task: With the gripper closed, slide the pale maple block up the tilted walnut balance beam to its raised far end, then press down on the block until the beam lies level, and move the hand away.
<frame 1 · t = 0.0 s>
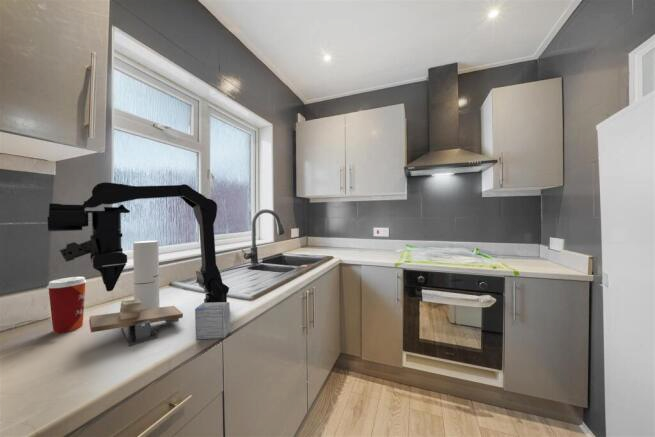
hand: (108, 287, 63), 15 cm above the table, tool pointing down, fingers open, 9 cm apart
beam stand: (138, 332, 68), on the table
coffee cup: (68, 329, 71), on the table
medicine box: (213, 336, 66), on the table
beam: (138, 319, 68), point 4 cm above the table, hinge at -8.0°, touching maple block
maple block: (129, 316, 67), point 5 cm above the table, tilted 8°, touching beam
cylindrical container: (147, 311, 84), on the table
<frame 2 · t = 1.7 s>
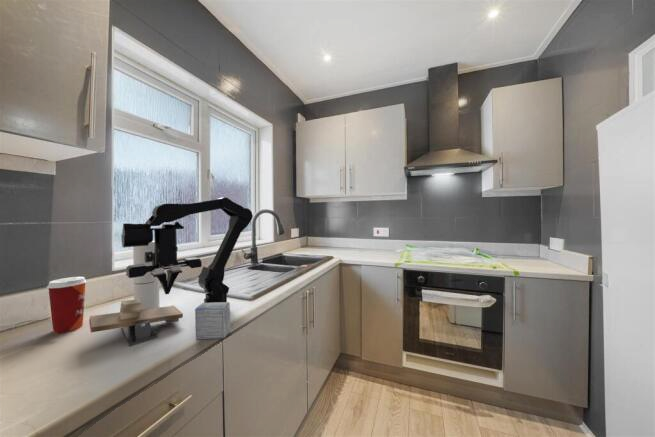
hand: (167, 293, 73), 10 cm above the table, tool pointing down, fingers closed
nothing on the table moved.
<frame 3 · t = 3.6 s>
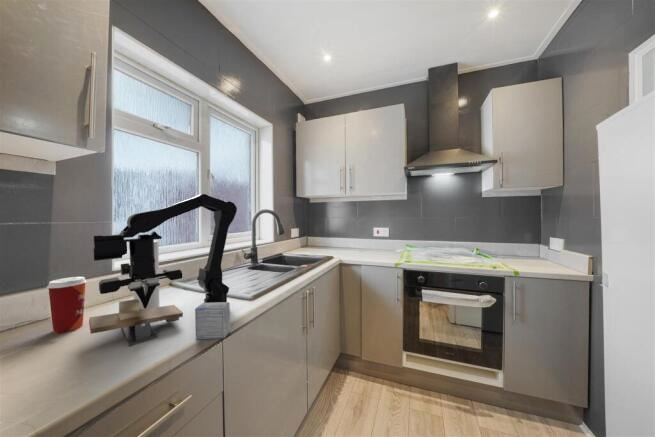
hand: (145, 308, 69), 7 cm above the table, tool pointing down, fingers closed
beam: (138, 319, 68), point 4 cm above the table, hinge at -6.2°, touching maple block
maple block: (128, 316, 66), point 6 cm above the table, touching beam, gripper
everything else where it was.
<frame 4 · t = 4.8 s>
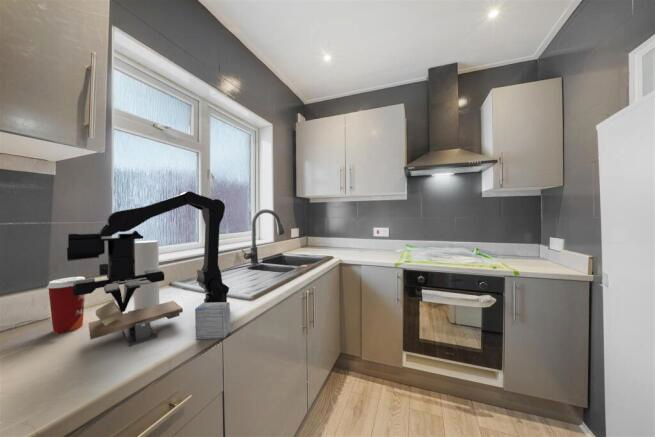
hand: (122, 311, 66), 7 cm above the table, tool pointing down, fingers closed
beam: (138, 319, 68), point 4 cm above the table, hinge at 2.0°, touching maple block
maple block: (114, 318, 64), point 6 cm above the table, tilted 27°, touching beam, gripper
everything else where it was.
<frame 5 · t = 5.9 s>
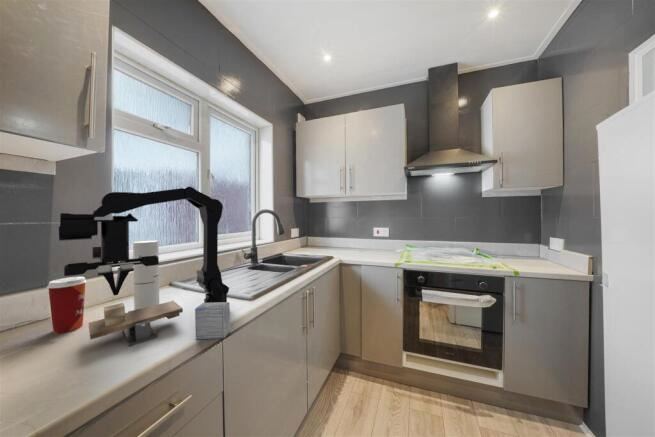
hand: (115, 294, 64), 12 cm above the table, tool pointing down, fingers closed
maple block: (115, 321, 65), point 5 cm above the table, touching beam
everything else where it was.
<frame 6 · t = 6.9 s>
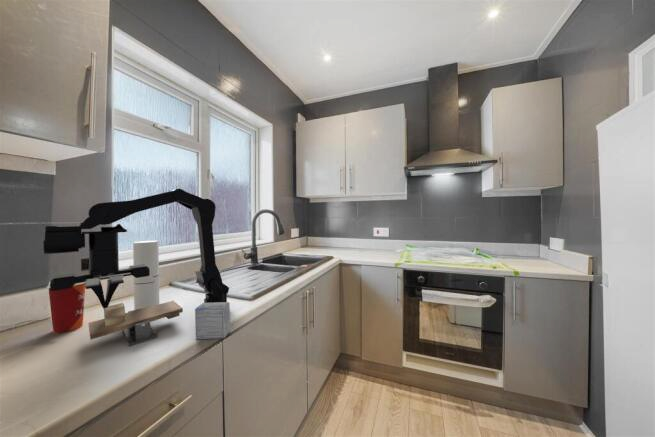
hand: (105, 307, 63), 9 cm above the table, tool pointing down, fingers closed
nothing on the table moved.
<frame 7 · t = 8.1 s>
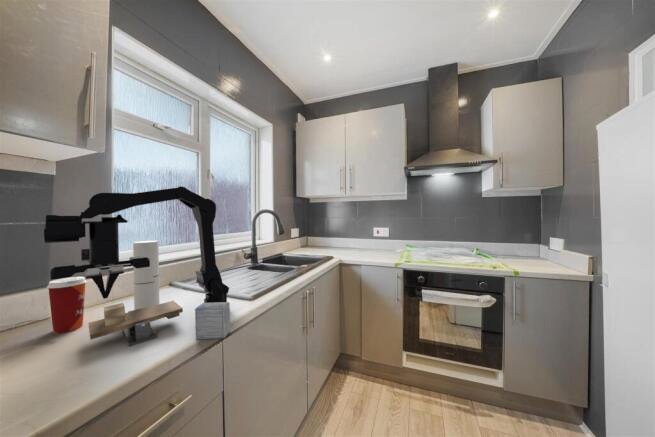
hand: (105, 298, 63), 12 cm above the table, tool pointing down, fingers closed
nothing on the table moved.
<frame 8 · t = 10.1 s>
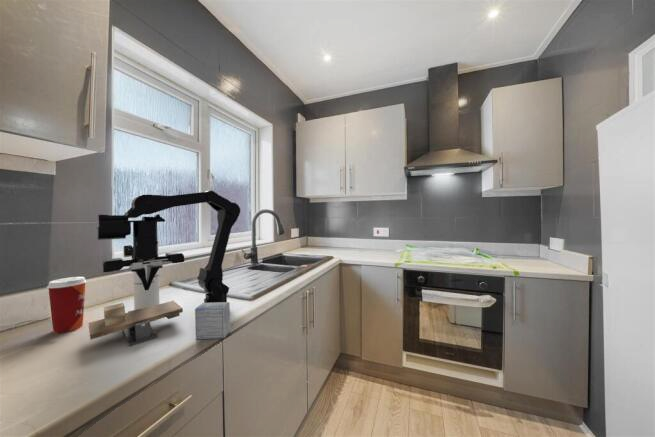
hand: (146, 290, 69), 12 cm above the table, tool pointing down, fingers closed
nothing on the table moved.
at the end: beam at +2° (first picture: -8°); maple block 1.5 cm from the target spot on the beam, point 1.0 cm above the beam's base; maple block tilted 2° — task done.
